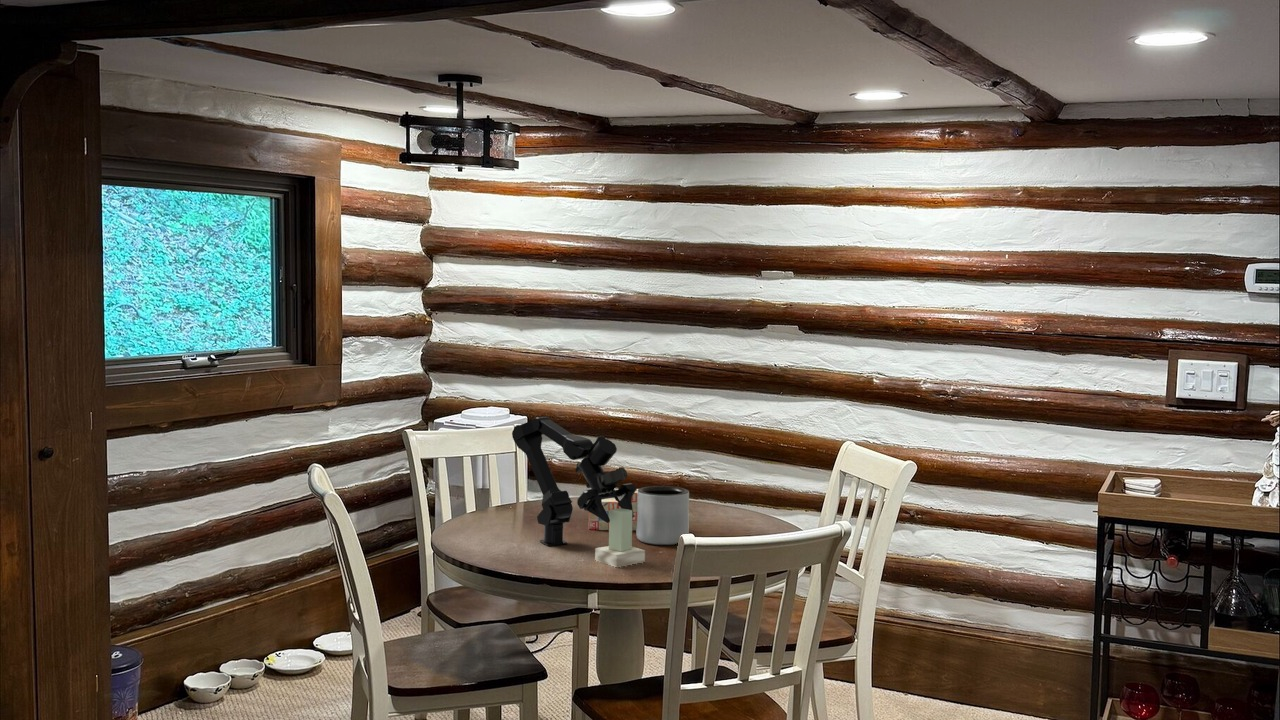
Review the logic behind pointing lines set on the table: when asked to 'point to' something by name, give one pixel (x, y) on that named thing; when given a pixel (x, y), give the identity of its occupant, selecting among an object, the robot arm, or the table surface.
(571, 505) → the robot arm
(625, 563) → the cream base block
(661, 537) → the planter
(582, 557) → the table surface
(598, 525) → the stack of blocks
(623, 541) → the tall sage block
